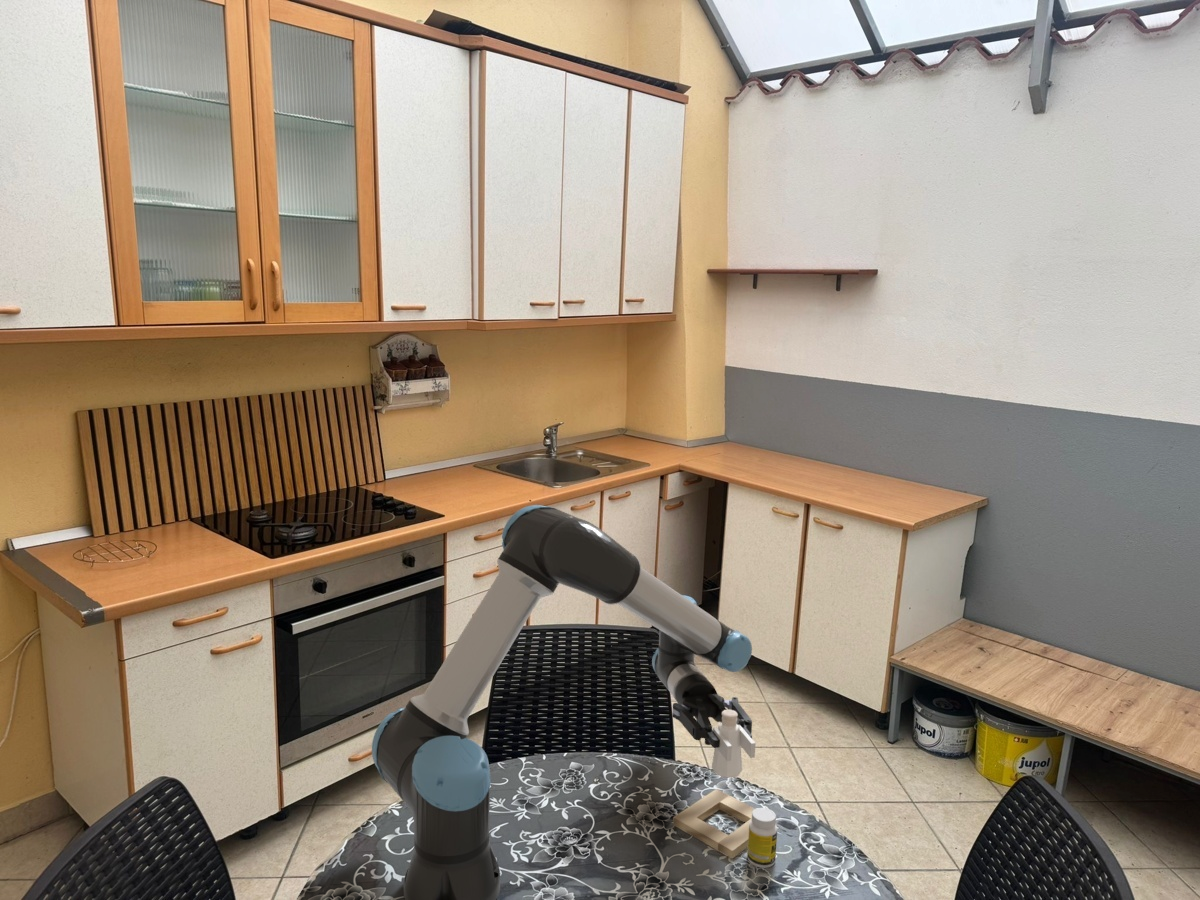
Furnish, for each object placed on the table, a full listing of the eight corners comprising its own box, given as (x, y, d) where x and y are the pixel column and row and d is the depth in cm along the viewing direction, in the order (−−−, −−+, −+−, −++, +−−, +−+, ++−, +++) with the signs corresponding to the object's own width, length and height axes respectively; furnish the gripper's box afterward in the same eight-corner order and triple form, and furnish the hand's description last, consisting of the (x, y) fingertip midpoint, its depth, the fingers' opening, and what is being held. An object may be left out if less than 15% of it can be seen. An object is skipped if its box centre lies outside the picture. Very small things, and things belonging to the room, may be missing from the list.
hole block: (672, 824, 149) (673, 817, 149) (716, 796, 159) (716, 788, 158) (732, 858, 141) (732, 850, 140) (774, 826, 150) (774, 818, 149)
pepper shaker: (742, 779, 145) (745, 721, 143) (711, 776, 146) (713, 718, 144) (742, 763, 150) (745, 706, 148) (711, 760, 151) (714, 703, 149)
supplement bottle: (775, 870, 138) (778, 824, 136) (746, 866, 139) (749, 820, 137) (775, 852, 142) (778, 808, 141) (747, 848, 143) (750, 804, 142)
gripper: (730, 704, 167) (784, 766, 144) (651, 712, 162) (694, 778, 140) (732, 669, 165) (787, 726, 143) (652, 676, 161) (696, 737, 139)
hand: (741, 751), depth 142 cm, fingers closed on pepper shaker, 4 cm apart
